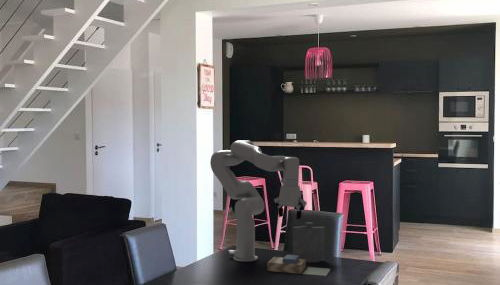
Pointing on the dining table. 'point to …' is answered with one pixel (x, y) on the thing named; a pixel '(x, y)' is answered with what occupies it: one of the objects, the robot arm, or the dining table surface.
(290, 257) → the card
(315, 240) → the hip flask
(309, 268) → the mat
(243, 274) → the dining table surface
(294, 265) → the deck
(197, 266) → the dining table surface
